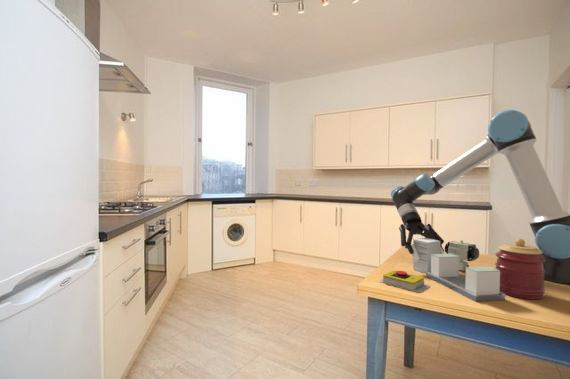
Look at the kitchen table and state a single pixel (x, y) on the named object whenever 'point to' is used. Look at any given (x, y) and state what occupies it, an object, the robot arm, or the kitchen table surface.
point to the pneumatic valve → (462, 252)
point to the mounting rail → (459, 286)
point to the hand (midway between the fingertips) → (430, 259)
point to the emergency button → (405, 281)
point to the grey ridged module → (425, 253)
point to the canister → (521, 270)
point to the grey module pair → (467, 274)
